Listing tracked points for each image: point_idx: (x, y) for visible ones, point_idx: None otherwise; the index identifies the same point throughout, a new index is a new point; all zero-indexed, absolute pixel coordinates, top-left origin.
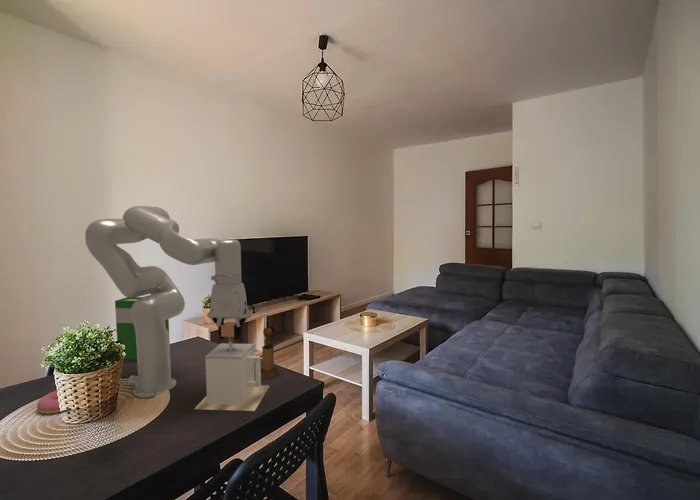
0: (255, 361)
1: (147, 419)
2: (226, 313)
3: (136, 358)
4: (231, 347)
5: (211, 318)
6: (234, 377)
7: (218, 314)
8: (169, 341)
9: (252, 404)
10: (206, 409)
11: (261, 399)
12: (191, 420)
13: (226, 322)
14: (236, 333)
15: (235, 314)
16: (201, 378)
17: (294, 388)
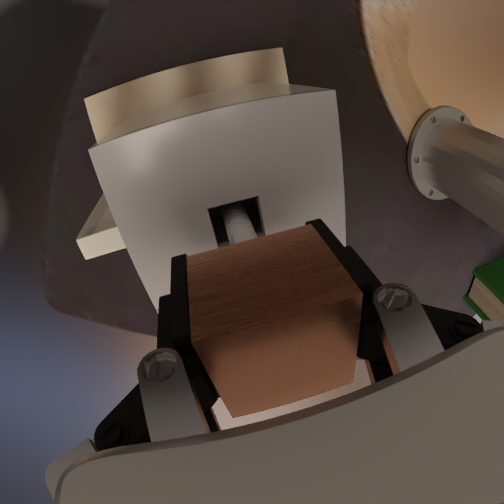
0: (96, 225)
1: (375, 9)
2: (335, 485)
3: (501, 258)
4: (229, 227)
5: (488, 328)
6: (153, 114)
7: (475, 390)
8: (478, 314)
9: (111, 126)
10: (240, 53)
11: None
12: (257, 11)
13: (341, 372)
14: (172, 290)
15: (137, 500)
16: (369, 230)
17: (76, 264)
